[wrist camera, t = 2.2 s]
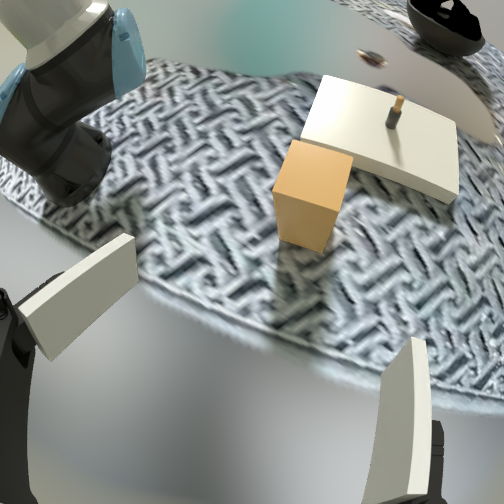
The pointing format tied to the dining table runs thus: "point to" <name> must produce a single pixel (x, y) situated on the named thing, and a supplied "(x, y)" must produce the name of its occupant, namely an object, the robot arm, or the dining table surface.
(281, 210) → the tan upright carton
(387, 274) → the dining table surface
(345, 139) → the plate
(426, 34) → the coal bowl
